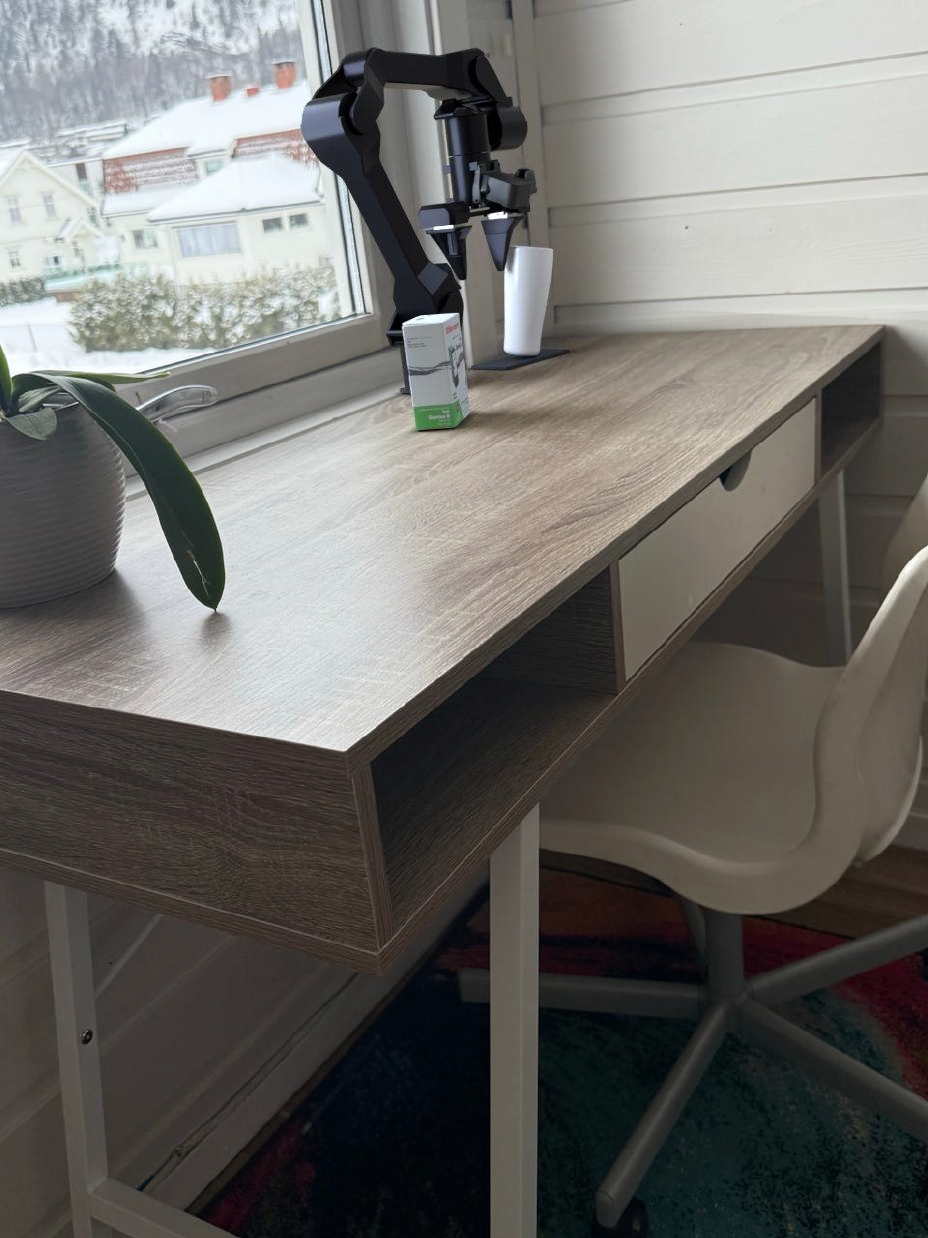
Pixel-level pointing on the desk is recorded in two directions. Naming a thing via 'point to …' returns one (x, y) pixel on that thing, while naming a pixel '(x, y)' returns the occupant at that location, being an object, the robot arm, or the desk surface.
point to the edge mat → (518, 360)
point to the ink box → (436, 370)
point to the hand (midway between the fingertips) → (482, 275)
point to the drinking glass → (526, 298)
